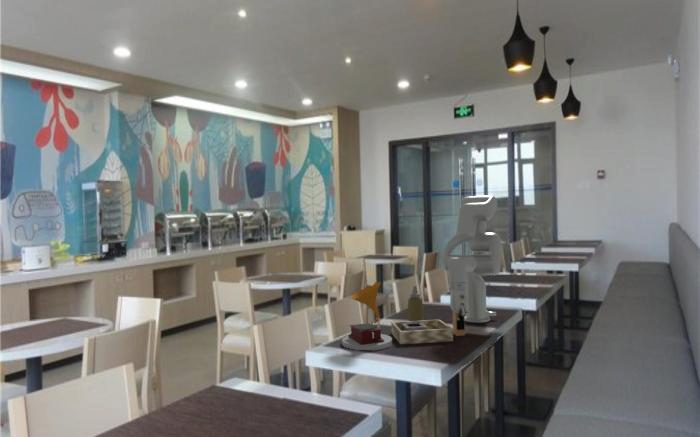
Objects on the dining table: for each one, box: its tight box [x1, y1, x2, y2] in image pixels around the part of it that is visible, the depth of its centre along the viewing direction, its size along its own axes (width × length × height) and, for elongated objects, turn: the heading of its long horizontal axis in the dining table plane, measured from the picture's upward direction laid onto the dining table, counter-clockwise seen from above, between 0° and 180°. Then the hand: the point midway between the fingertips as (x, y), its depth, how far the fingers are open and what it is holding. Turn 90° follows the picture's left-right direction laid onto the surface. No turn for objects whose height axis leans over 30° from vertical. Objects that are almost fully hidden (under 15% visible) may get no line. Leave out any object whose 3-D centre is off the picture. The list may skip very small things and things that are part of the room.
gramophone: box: [341, 281, 393, 351], centre depth 199 cm, size 20×20×25 cm
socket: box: [401, 322, 427, 331], centre depth 206 cm, size 9×9×4 cm
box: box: [390, 319, 454, 345], centre depth 207 cm, size 22×18×5 cm
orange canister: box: [452, 310, 466, 337], centre depth 210 cm, size 4×4×11 cm
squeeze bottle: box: [406, 285, 425, 321], centre depth 232 cm, size 8×8×18 cm
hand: (458, 327), depth 210 cm, fingers closed on orange canister, 4 cm apart
